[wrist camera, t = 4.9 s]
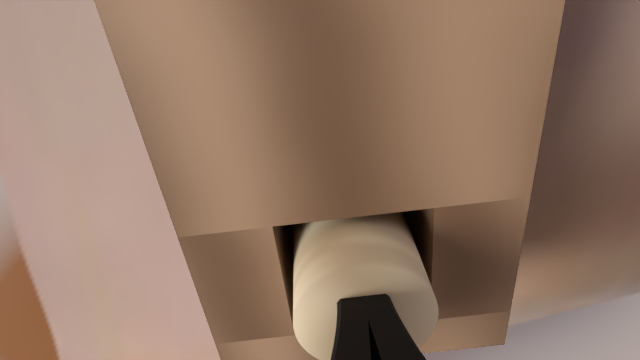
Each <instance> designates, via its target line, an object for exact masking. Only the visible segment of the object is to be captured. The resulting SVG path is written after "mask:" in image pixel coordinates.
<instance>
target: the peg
mask: <svg viewBox="0 0 640 360" xmlns="http://www.w3.org/2000/svg"><path fill="white" fill-rule="evenodd" d="M377 294H387V295H388V296H390V298H391V301H392V303H393V305H394V307H395V309H396V311H397V313H398V315H399V317H400V319H401V320H402V322H403V324H404V326H405V327H406V329H407V331H408V332H409V334H410V336H411V337H412V339H413V341H414V342H415V344H416V345H417V347H418V348H419V347H421V346H422V345H423V344H424V343H425V342H426V341H427V340H428V338H429V337H430V336H431V334H432V333H433V331H434V329H435V327H436V324H437V321H438V315H439V311H438V304H437V300H436V297H435V295H434V292H433V289H432V287H431V284H430V281H429V279H428V276H427V273H426V271H425V268H424V266H423V263H422V260H421V258H420V255H419V252H418V250H417V247H416V244H415V242H414V239H413V237H412V234H411V231H410V229H409V226H408V223H407V221H406V218H405V215H404V213H403V212H395V213H387V214H378V215H369V216H361V217H352V218H343V219H335V220H326V221H317V222H308V223H300V224H294V264H293V329H294V333H295V336H296V338H297V340H298V342H299V343H300V345H301V346H302V347H303V348H304V349H305V350H306V351H307V352H308V353H309V354H311V355H312V356H313V357H315V358H317V359H319V360H331V355H332V350H333V345H334V339H335V332H336V323H337V302H338V301H339V300H340V299H342V298H351V297H360V296H369V295H377Z"/></svg>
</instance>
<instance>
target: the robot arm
mask: <svg viewBox="0 0 640 360" xmlns="http://www.w3.org/2000/svg"><path fill="white" fill-rule="evenodd" d="M331 360H426V359H425V357H424V356H423V354H422V353H421V351H420V350H419V348H418V347H417V345H416V344H415V342H414V341H413V339H412V337H411V336H410V334H409V332H408V331H407V329H406V327H405V326H404V324H403V322H402V320H401V319H400V317H399V315H398V313H397V311H396V309H395V307H394V305H393V303H392V301H391V298H390V296H388V295H387V294H377V295H369V296H360V297H351V298H342V299H340V300H339V301H338V302H337V323H336V332H335V339H334V345H333V350H332V355H331Z"/></svg>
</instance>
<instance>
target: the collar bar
mask: <svg viewBox="0 0 640 360" xmlns="http://www.w3.org/2000/svg"><path fill="white" fill-rule="evenodd" d="M94 2H95V4H96V7H97V10H98V13H99V16H100V19H101V21H102V24H103V27H104V30H105V33H106V36H107V38H108V41H109V44H110V47H111V50H112V53H113V55H114V58H115V61H116V64H117V67H118V70H119V72H120V75H121V78H122V81H123V84H124V87H125V89H126V92H127V95H128V98H129V101H130V104H131V106H132V109H133V112H134V115H135V118H136V121H137V123H138V126H139V129H140V132H141V135H142V138H143V140H144V143H145V146H146V149H147V152H148V155H149V157H150V160H151V163H152V166H153V169H154V172H155V174H156V177H157V180H158V183H159V186H160V189H161V191H162V194H163V197H164V200H165V203H166V206H167V208H168V211H169V214H170V217H171V220H172V223H173V225H174V228H175V231H176V234H177V237H178V240H179V242H180V245H181V248H182V251H183V254H184V256H185V259H186V262H187V265H188V268H189V271H190V273H191V276H192V279H193V282H194V285H195V288H196V290H197V293H198V296H199V299H200V302H201V305H202V307H203V310H204V313H205V316H206V319H207V322H208V324H209V327H210V330H211V333H212V336H213V339H214V341H215V344H216V347H217V350H218V353H219V356H220V358H221V360H319V359H317V358H315V357H313V356H312V355H311V354H309V353H308V352H307V351H306V350H305V349H304V348H303V347H302V346H301V345H300V343H299V342H298V340H297V338H296V336H295V333H294V329H293V264H294V233H293V227H292V224H300V223H308V222H317V221H326V220H335V219H343V218H352V217H361V216H369V215H378V214H387V213H395V212H403V213H404V215H405V218H406V221H407V223H408V226H409V229H410V231H411V234H412V237H413V239H414V242H415V244H416V247H417V250H418V252H419V255H420V258H421V260H422V263H423V266H424V268H425V271H426V273H427V276H428V279H429V281H430V284H431V287H432V289H433V292H434V295H435V297H436V300H437V304H438V311H439V315H438V321H437V324H436V327H435V329H434V331H433V333H432V334H431V336H430V337H429V338H428V340H427V341H426V342H425V343H424V344H423V345H422V346H421V347H419V350H420V351H421V353H431V352H440V351H449V350H459V349H467V348H477V347H486V346H494V345H504V343H505V338H506V332H507V327H508V321H509V316H510V310H511V304H512V299H513V293H514V287H515V282H516V276H517V271H518V265H519V259H520V254H521V248H522V242H523V237H524V231H525V225H526V220H527V214H528V208H529V203H530V197H531V191H532V186H533V180H534V174H535V169H536V163H537V158H538V152H539V146H540V141H541V135H542V129H543V124H544V118H545V112H546V107H547V101H548V95H549V90H550V84H551V78H552V73H553V67H554V61H555V56H556V50H557V45H558V39H559V33H560V28H561V22H562V16H563V11H564V5H565V0H94Z"/></svg>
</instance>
